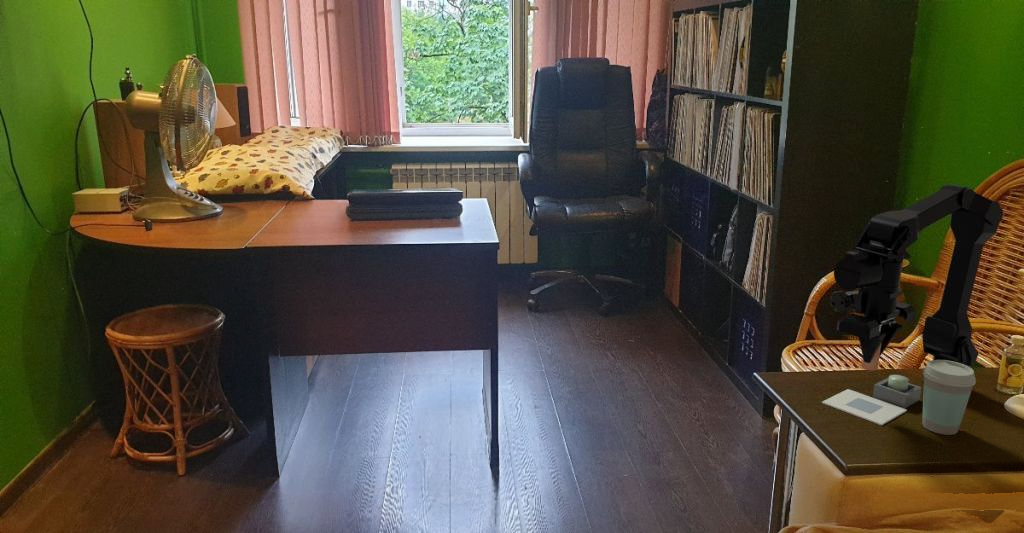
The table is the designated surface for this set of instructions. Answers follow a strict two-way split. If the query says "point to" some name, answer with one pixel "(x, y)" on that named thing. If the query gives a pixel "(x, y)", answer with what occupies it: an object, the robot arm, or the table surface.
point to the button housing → (896, 394)
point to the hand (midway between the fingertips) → (870, 360)
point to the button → (898, 383)
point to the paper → (864, 407)
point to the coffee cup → (946, 395)
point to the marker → (874, 363)
